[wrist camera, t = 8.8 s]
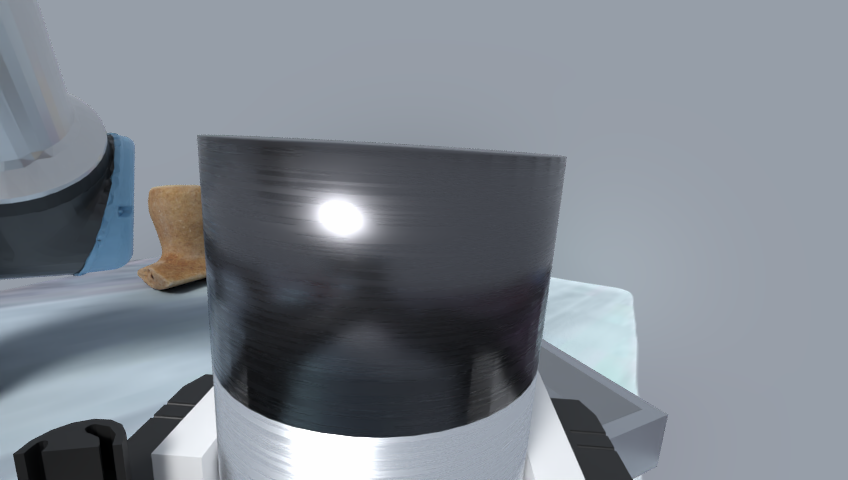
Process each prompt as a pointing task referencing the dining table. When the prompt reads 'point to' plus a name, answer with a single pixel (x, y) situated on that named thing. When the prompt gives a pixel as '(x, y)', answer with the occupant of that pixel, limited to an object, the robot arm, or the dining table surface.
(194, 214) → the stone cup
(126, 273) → the dining table surface
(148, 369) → the dining table surface
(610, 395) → the walled tray
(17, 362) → the dining table surface
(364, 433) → the two-tone metal cylinder
